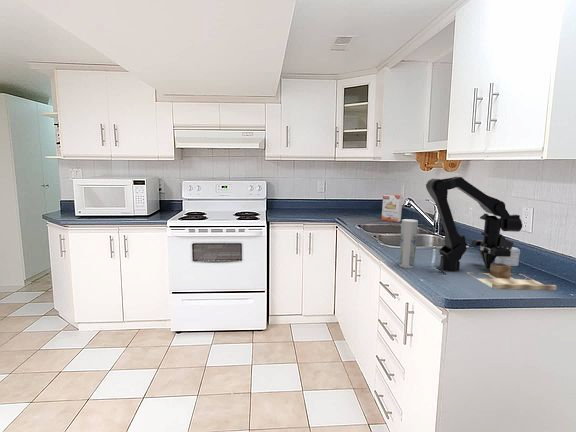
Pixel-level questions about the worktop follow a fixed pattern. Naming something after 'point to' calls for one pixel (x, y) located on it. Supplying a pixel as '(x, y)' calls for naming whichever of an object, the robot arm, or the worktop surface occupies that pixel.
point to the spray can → (408, 243)
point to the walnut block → (500, 270)
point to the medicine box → (509, 258)
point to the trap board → (515, 283)
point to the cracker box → (392, 207)
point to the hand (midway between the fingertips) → (487, 268)
